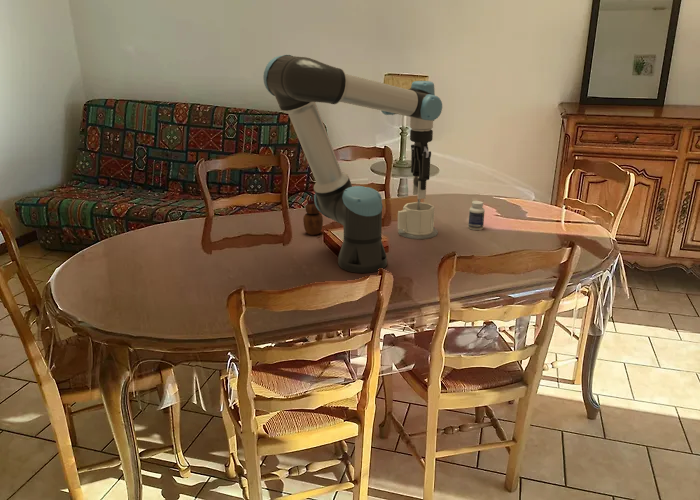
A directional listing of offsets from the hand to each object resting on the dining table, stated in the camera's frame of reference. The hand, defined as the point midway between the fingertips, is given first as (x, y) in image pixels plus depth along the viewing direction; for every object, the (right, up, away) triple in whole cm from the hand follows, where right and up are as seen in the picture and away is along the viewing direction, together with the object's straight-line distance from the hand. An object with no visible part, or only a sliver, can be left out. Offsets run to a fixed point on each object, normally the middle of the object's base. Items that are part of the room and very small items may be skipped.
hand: (419, 196), depth 205 cm
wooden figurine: (-37, -13, +5) cm, 40 cm away
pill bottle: (+22, -11, +9) cm, 26 cm away
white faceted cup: (0, -12, +5) cm, 13 cm away
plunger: (0, -10, +4) cm, 11 cm away
